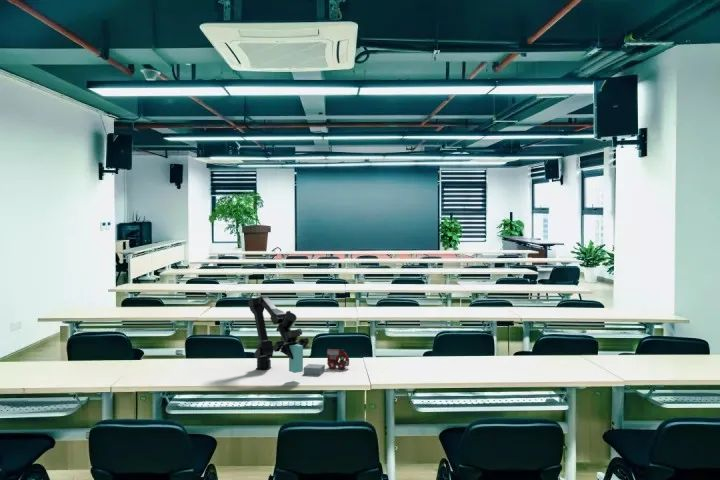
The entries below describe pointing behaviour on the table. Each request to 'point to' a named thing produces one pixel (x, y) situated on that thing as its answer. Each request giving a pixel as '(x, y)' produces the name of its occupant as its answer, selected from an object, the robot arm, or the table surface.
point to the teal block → (296, 358)
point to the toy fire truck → (334, 357)
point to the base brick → (314, 369)
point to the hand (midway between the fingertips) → (297, 358)
